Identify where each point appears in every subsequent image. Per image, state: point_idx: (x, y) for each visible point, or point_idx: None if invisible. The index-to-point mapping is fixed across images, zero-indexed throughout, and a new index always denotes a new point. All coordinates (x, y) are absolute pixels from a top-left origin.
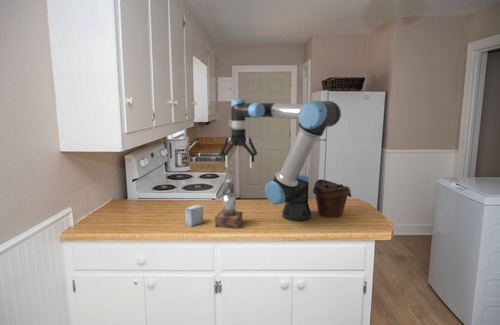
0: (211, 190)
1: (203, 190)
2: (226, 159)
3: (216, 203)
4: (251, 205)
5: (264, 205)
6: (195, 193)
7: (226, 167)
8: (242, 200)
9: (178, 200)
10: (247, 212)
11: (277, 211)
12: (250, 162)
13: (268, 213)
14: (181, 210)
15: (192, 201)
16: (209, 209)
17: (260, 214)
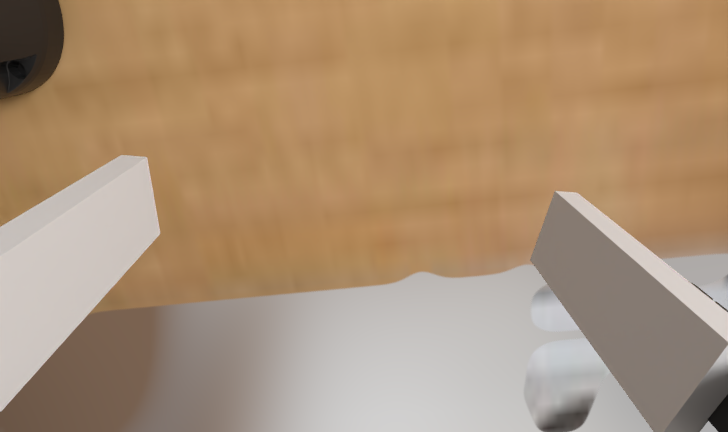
0: (534, 403)
1: (573, 400)
2: (657, 271)
3: (503, 213)
4: (301, 198)
5: (228, 205)
6: None
7: (562, 192)
8: (364, 276)
9: (716, 243)
10: (299, 57)
11: (121, 99)
12: (66, 200)
13: (164, 51)
14: (722, 53)
15: (638, 234)
16: (542, 94)
17: (208, 22)
